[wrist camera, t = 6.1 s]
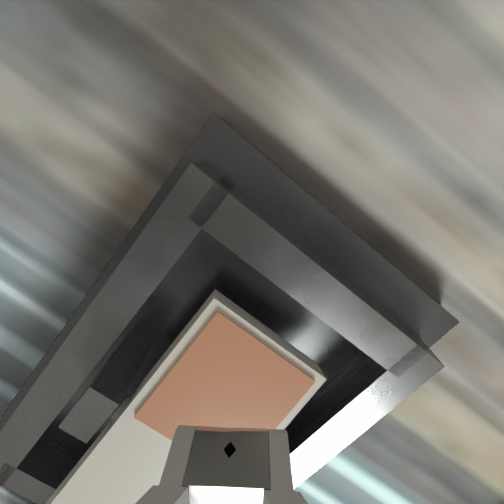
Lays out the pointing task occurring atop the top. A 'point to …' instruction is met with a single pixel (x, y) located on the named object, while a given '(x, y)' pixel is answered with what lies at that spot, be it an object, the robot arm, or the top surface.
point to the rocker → (194, 401)
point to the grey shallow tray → (242, 294)
